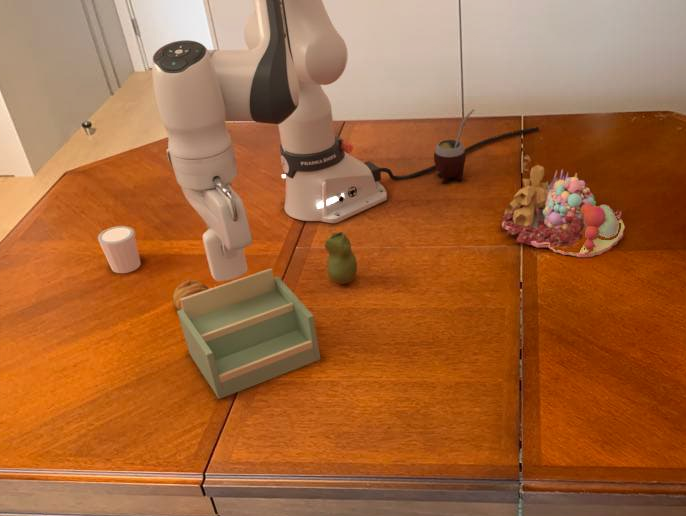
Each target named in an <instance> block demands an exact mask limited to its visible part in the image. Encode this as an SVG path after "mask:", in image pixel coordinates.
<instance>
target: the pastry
mask: <svg viewBox="0 0 686 516" xmlns="http://www.w3.org/2000/svg"><path fill="white" fill-rule="evenodd" d="M208 289H210V288H209V287H208V285H206V284H204V283H201V282H199V280H195V279H190V280H185V281H183V282H182V283H181V284H179V285H177V286H176V288H175V290H174V292H173V296H172V297H173V305H174V307H176V309H177V311H179V310H182V309H183V308H182V304H181V301H180V299H181V298H184V297H187V296H190V295H193V294H196V293H199V292H202V291H205V290H208Z"/></svg>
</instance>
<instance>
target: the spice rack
mask: <svg viewBox="0 0 686 516" xmlns="http://www.w3.org/2000/svg"><path fill="white" fill-rule="evenodd" d="M273 271H274V270H273V269H272V268H271V267H270V268H267V269H265V270H261V271H258V272H256V273H253V274H249V275H246V276H244V277H241V278H238V279H235V280H231V281H229V282H226V283H223V284H220V285H217V286H214V287H211V288H209V289H208V290H205V291H202V292H199V293H196V294H193V295H190V296H187V297H184V298H181V299H180V301H181V304H182V308H183V309H182V310H177V312H176V313H177V317H178V318H179V322H180V327H181V329H182V333H183V336H184V339H185V343H186V347H187V349H188V353H189V355H190V357H191V359H192V360H193V361H194V363H195V365H196V366H197V368H198V369H199V371H200V373H201V374H202V375H203V377H204V378H205V380H206V382H207V383H208V384H209V386H210V388H211V389H212V391H213V393H214V394H215V395H216V397H217V399H218V400H221V399H224V398H226V397H229V396H231V395H235V394H236V393H239V392H241V391H244V390H246V389H248V388H252V387H254V386H256V385H259V384H261V383H264V382H266V381H267V382H268V381H269V380H271V379H274V378H278V377H280V376H282V375H284V374H286V373H290V372H293V371H295V370H297V369H300V368H303V367H305V366H308V365H310V364H312V363H315V362H319V361H321V353H320V347H319V341H318V334H317V327H316V322H315V317H314V314H312V312H311V311H310V310H309V309H308V308H307V307H306V306H305V304H304V303H303V302H302V301H301V299H300V298H298V297H297V296H296V294H295V293H294V292H293V291H292V290H291V289H290V287H288V286H287V284H286V283H285V282H284V281H283V280H282V279H281V277H280V276H276V277H274V272H273Z"/></svg>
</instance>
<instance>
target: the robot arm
mask: <svg viewBox="0 0 686 516" xmlns="http://www.w3.org/2000/svg"><path fill="white" fill-rule="evenodd" d="M252 2H253V8H254V10H253V11H251V13H250V14H249V16H248V17H247V19H246V22H245V24H244V30H243V35H244V36H243V37H244V41H245V44H246V47H247V48H248V49H231V50H229V49H224V50H223V49H221V50H220V49H208V48H207V47H206V46H205V45H204V44H203V43H201V42H198V41H195V40H183V39H182V40H177V41H172V42H170V43H167V44H165V45H163V46H161V47H160V48H158V49H157V50H156V51H155V52H154V54H153V56H152V58H151V73H152V74H151V75H152V82H153V90H154V96H155V101H156V105H157V110H158V113H159V119H160V121H161V123H162V125H163V127H164V129H165V131H166V134H167V138H168V143H167V147H168V148H166V150H165V151H166V156H167V160H168V162H169V164H170V165H171V167H172V170H173V172H174V175H175V180H176V182H177V184H178V185H179V187H180V188H181V191H182V193H183V197H184V198H185V199H186V201H187V202H188V203H189V205H190V206H191V207H192V208H193V210H195V212H196V213H197V214H198V216H200V217H201V219H202V220H203V221H204V224H205V226H206V228H207V230H208V229H210V228H211V229H212V231H213V232H214V233H215V234H216V235H217V236H218V238H219V239H220V240H221V241H222V245H221V249H222V253H223V255H224V256H225V257H226V258H227V259H231V258H234V257H236V256H237V252H236V250H239V249H242V248H243V249H246V248H248V247H250V246H251V245H252V242H253V235H252V232H251V227H250V223H249V220H248V215H247V211H246V208H245V205H244V203H243V201H242V198H241V197H240V196H239V194H238V193H237V192H236V191H235V190H234V189H233V188H232V184H233V183H232V182H233V181H234V180H235V179H236V178H237V176H238V174H239V169H238V165H237V159H236V154H235V149H234V146H233V145H234V144H233V140H232V137H231V135H230V133H229V131H228V128H227V125H226V122H255V123H259V124H270V125H277V127H278V132H279V139H280V144H279V151H280V163H281V166H282V170H283V173H284V174H281V178H282V179H285V199H284V205H283V209H284V212H285V214H286V215H287V216H289V217H291V218H292V219H296V220H299V221H302V222H303V221H304V222H322V223H328V224H337V223H340V222H342V221H344V220H346V219H348V218H351V217H353V216H355V215H357V214H360V213H361V212H363V211H365V210H369V209H370V208H372V207H374V206H376V205H379V204H381V203H383V202H385V201H387V199H388V194H387V190H386V188H385V187H384V186H383V185H382V184H381V183H380V181H382V173H383V172H384V173H387V174H388V176H389V178H390V179H391V180H394V181H400V180H409V179H413V178H416V177H419V176H421V175H424V174H427V173H430V172H432V171H434V170H437V167H436V165H435V164H434V165H432V166H429V167H427V168H424V169H421V170H419V171H416V172H413V173H410V174H407V175H402V176H401V175H400V176H399V175H394V174H393V172H392V170H391V169H390V168H388V167H379V166H377V165H376V164H374V163H373V162H371V161H370V160H368V161H365V162H364V161H362V160H360V159H358V158H357V157H354V156H353V155H350V154H351V153H352V152H353V150H354V146H353V144H352V143H350V141H347V140H343V138H341V137H339V136H337V135H336V134H335V127H334V118H333V110H332V104H331V101H330V99H329V97H328V95H327V94H326V92H325V91H324V89H323V87H322V86H327V85H331V84H333V83H335V82H337V80H339V79H340V78H341V76H342V75H343V73H344V72H345V70H346V67H347V63H348V48H347V45H346V42H345V40H344V38H343V37H342V36H341V35H340V33H339V32H338V30H337V29H336V28H335V26H334V25H333V22H332V20H331V18H330V16H329V14H328V12H327V9H326V7H325V5H324V2H323V0H252ZM535 127H536V128H532V127H530V128H531V129H527V128H525V129H526V130H522V129H518V130H514V131H510V132H509V131H508V132H506V133H502V134H498V135H495V136H492V137H488V138H487V139H483V140H481V141H478V142H476V143H474V144H472V145H470V146H468V147H466V148H465V153H469V152H470V151H472V150H474V149H477V148H478V147H481V146H483V145H485V144H489V143H491V142H494V141H498V140H501V139H504V138H508V137H512V136H516V135H520V134H524V133H530V132H536V131H539V130H540V128H539V126H538V127H537V126H535ZM520 130H521V131H520ZM516 131H517V132H516ZM512 132H513V133H512ZM500 135H501V136H500ZM496 136H498V137H496ZM494 137H495V138H494Z"/></svg>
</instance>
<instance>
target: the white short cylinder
mask: <svg viewBox="0 0 686 516" xmlns="http://www.w3.org/2000/svg"><path fill="white" fill-rule="evenodd" d="M97 241H98V243H99V246H100V247H101V249H102V251H103V254H104V256H105V258H106V261H107V262H108V264H109V266H110V268H111V269H110V270H112V272H114V273H117V274H127V273H132V272H133V271H136V270H137V269H138V268H140V266H141V264H142V263H141V259H140V254H139V249H138V243H137V239H136V234H135V230H134V228H132V227H130V226H127V225H118V226H113V227H109V228H107V229H104V230H103V231H101V232H100V233H98V235H97Z"/></svg>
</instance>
